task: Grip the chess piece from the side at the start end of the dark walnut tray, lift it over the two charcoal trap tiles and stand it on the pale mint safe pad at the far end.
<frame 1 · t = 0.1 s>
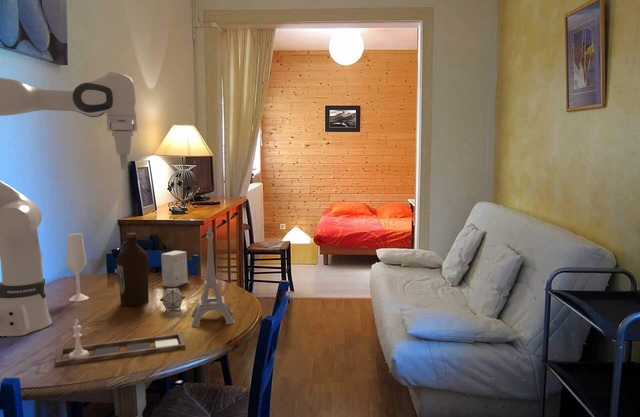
hand: (124, 169, 168), 48 cm above the table, tool pointing down, fingers open, 8 cm apart
safe pad: (166, 344, 147), resting in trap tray
eiffel tower: (212, 319, 169), on the table
champagne flute: (78, 299, 193), on the table
trap tiles: (123, 350, 143), resting in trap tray
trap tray: (123, 350, 143), on the table
chess piece: (78, 356, 139), resting in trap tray
small box: (175, 284, 212), on the table
olive oil: (134, 303, 187), on the table
game die: (173, 310, 178), on the table
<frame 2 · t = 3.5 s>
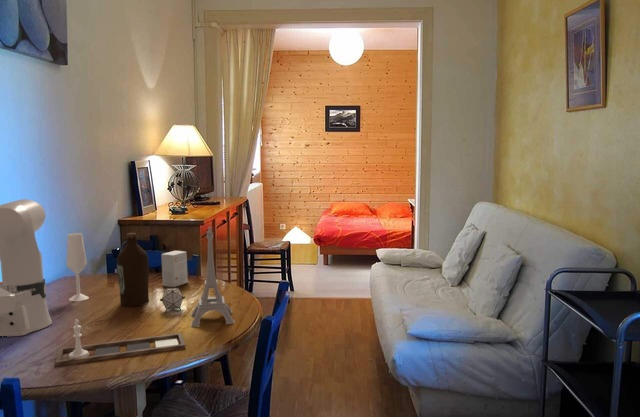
hand: (22, 290, 128), 20 cm above the table, tool horizontal, fingers open, 8 cm apart
nothing on the table moved.
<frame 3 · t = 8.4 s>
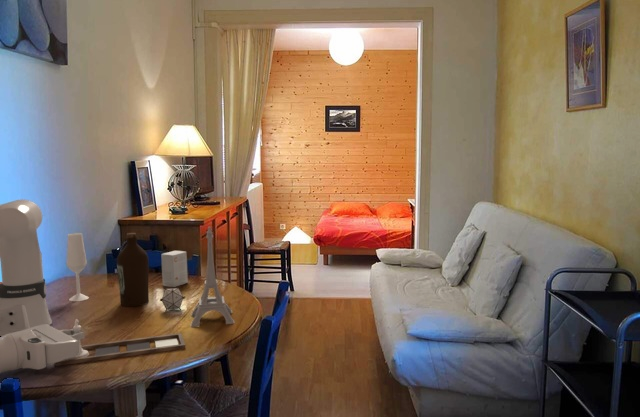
hand: (80, 333, 139), 6 cm above the table, tool horizontal, fingers closed on chess piece, 2 cm apart
chess piece: (78, 356, 139), resting in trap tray, touching gripper
everything else where it was.
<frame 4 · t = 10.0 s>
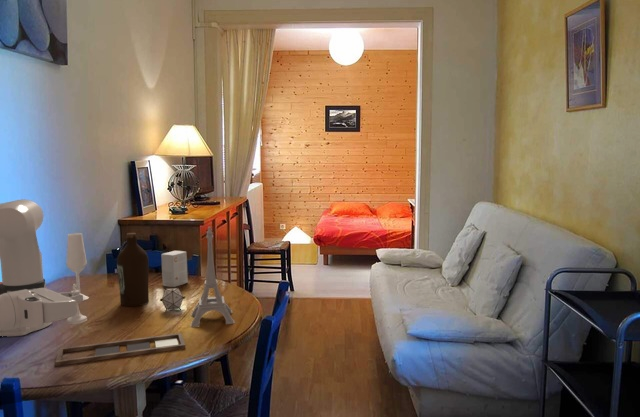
hand: (78, 296, 138), 16 cm above the table, tool horizontal, fingers closed on chess piece, 2 cm apart
chess piece: (77, 321, 138), point 9 cm above the table, touching gripper
everything else where it was.
when the fingers open (8 cm above the table, at t = 14.1 s): chess piece moves 2 cm, resting on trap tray.
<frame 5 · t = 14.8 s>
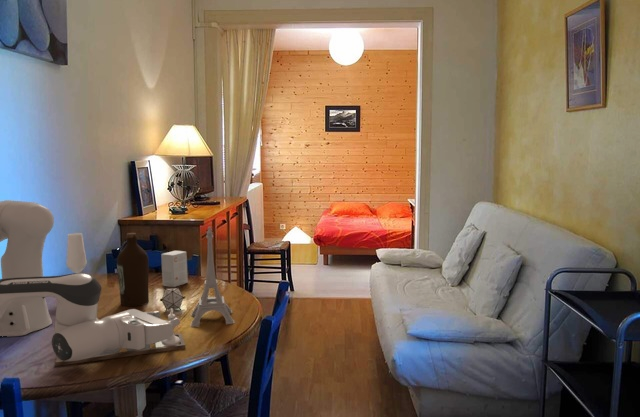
hand: (168, 317, 147), 8 cm above the table, tool horizontal, fingers open, 8 cm apart
chess piece: (170, 342, 146), point 1 cm above the table, touching gripper, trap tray
everything else where it was.
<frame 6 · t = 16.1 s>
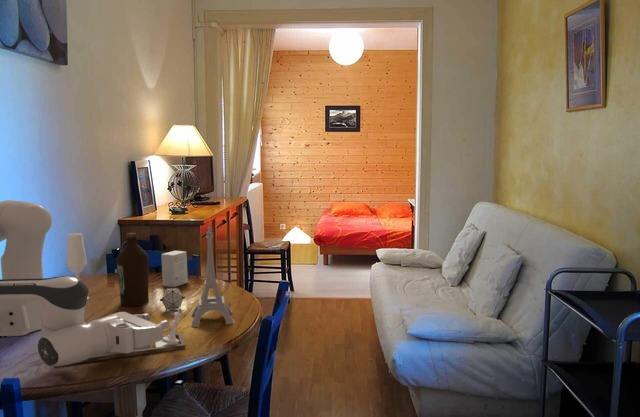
hand: (158, 319, 144), 8 cm above the table, tool horizontal, fingers open, 8 cm apart
chess piece: (170, 342, 146), point 1 cm above the table, touching safe pad
everything else where it was.
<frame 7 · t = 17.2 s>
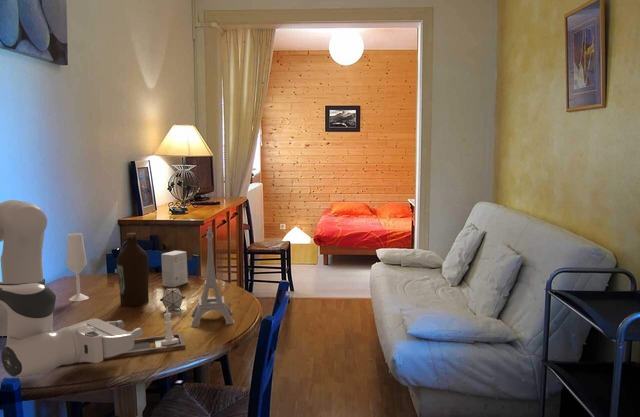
hand: (132, 327, 138), 8 cm above the table, tool horizontal, fingers open, 8 cm apart
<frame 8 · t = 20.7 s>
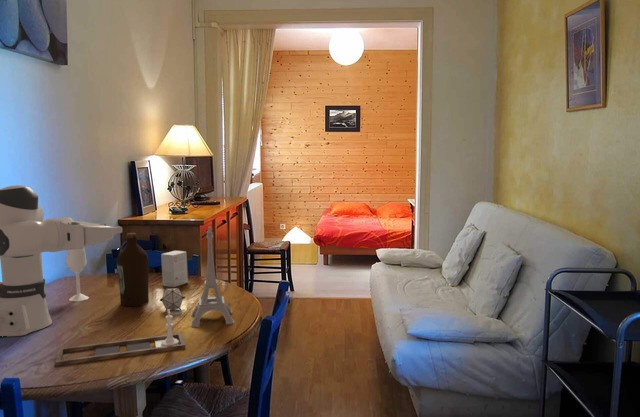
hand: (112, 227, 151), 32 cm above the table, tool horizontal, fingers open, 8 cm apart
at the end: chess piece 1.3 cm from the target spot on the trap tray, point 0.0 cm above the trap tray's base; chess piece tilted 0°; the gripper is holding nothing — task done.
